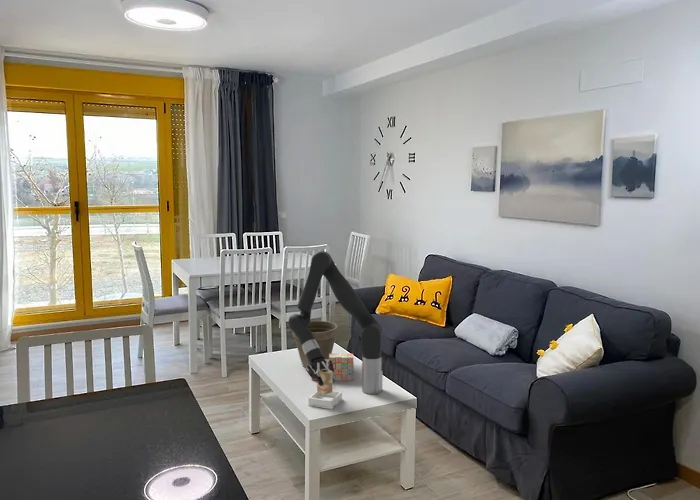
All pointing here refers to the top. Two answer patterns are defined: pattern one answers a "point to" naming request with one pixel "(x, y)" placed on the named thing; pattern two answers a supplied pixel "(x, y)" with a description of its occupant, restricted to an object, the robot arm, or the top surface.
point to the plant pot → (319, 338)
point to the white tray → (325, 399)
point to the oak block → (325, 381)
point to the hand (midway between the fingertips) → (327, 383)
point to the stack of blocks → (341, 366)
